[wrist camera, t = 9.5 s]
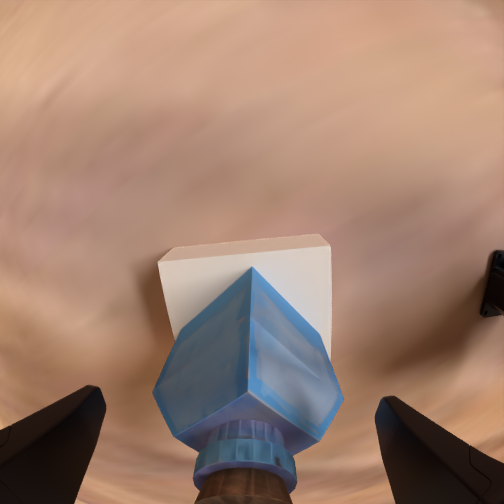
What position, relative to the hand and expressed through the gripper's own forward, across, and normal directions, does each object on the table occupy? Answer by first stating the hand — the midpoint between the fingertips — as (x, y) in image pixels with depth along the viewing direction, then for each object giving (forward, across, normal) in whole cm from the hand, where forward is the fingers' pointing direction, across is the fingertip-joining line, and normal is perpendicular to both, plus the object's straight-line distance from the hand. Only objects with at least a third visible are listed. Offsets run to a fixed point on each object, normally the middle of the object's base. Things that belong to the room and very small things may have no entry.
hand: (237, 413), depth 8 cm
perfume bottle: (+10, 0, +3) cm, 10 cm away
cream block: (+14, 0, +3) cm, 14 cm away
